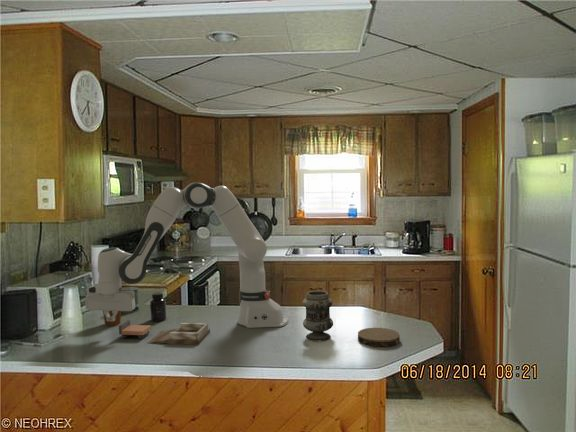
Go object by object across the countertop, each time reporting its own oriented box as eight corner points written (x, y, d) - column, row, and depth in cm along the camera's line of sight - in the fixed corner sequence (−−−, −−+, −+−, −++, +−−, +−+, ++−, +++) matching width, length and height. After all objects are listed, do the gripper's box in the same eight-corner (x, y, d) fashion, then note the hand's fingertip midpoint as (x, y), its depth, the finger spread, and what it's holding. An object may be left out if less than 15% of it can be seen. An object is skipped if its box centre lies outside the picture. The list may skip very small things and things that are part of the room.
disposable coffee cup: (128, 321, 219) (127, 295, 219) (114, 327, 210) (113, 300, 210) (111, 320, 223) (110, 294, 222) (96, 326, 214) (95, 299, 213)
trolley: (151, 333, 202) (150, 320, 201) (143, 340, 194) (142, 326, 193) (128, 333, 203) (127, 320, 203) (119, 339, 195) (118, 325, 195)
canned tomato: (123, 313, 233) (122, 291, 232) (120, 309, 240) (120, 287, 239) (140, 311, 237) (139, 289, 236) (137, 307, 244) (136, 286, 243)
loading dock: (210, 334, 202) (209, 322, 202) (199, 347, 187) (198, 334, 187) (161, 333, 205) (160, 321, 204) (146, 345, 190) (145, 332, 190)
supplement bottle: (168, 317, 225) (167, 292, 224) (163, 321, 218) (162, 295, 217) (154, 317, 226) (153, 291, 225) (148, 321, 219) (147, 295, 218)
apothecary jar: (317, 330, 202) (316, 287, 201) (339, 337, 194) (339, 292, 192) (296, 337, 194) (296, 293, 193) (319, 344, 185) (318, 297, 184)
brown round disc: (350, 343, 187) (350, 335, 187) (368, 332, 200) (368, 325, 200) (389, 351, 178) (389, 343, 178) (405, 339, 191) (405, 331, 191)
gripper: (137, 286, 200) (138, 319, 201) (90, 285, 203) (91, 318, 204) (130, 289, 194) (131, 324, 195) (82, 288, 196) (83, 322, 197)
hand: (111, 320), depth 199 cm, fingers closed
